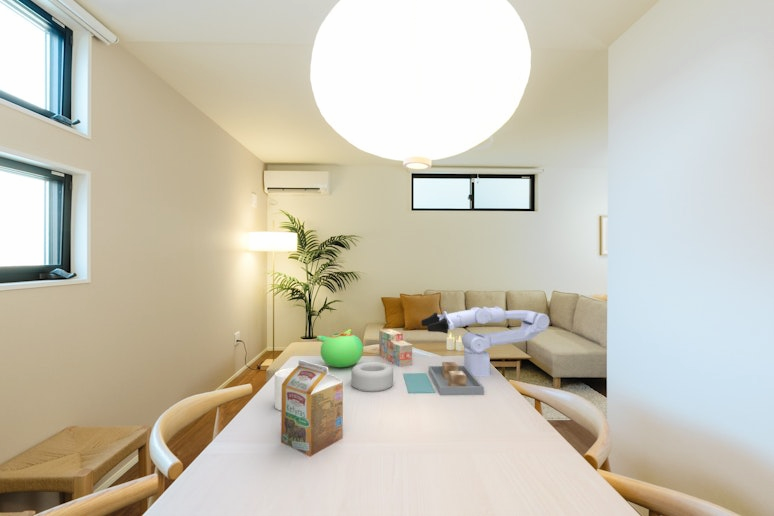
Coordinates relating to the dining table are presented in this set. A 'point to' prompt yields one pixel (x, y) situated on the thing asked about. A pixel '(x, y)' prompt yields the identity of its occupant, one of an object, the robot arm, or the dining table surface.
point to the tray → (444, 389)
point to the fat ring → (372, 376)
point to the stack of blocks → (394, 348)
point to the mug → (280, 385)
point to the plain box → (448, 368)
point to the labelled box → (456, 378)
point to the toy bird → (341, 349)
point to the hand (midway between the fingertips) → (424, 325)
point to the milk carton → (311, 409)
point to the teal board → (418, 383)
